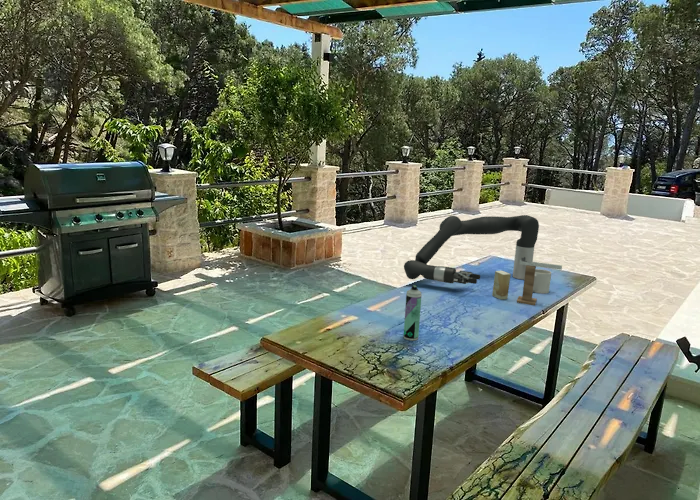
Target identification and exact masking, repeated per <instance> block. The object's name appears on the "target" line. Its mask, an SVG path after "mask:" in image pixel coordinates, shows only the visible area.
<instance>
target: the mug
mask: <svg viewBox="0 0 700 500" xmlns="http://www.w3.org/2000/svg"><path fill="white" fill-rule="evenodd" d="M551 280H552V271H550V270H547V269H541V268H536V270H535V278H534V286H533V293H535V294H549V292H550V285H551Z"/></svg>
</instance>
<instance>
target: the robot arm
mask: <svg viewBox="0 0 700 500" xmlns="http://www.w3.org/2000/svg"><path fill="white" fill-rule="evenodd" d="M539 228H540V223H539V219H537V218H536V217H534V216H530V215H528V214H523V215H522V214H521V215H516V216H480V217H475V218H471V219H467V220H461V219H460V218H459V216H457V215H449V216H447V217H446V218H444V219H443V220H442V221H441V223H440V224H439V230H438V231H437V232H436V233H435V234H434V236H432V237H431V238H430V239H429V240H428V241H427V242H426V243H425V244H424V245H423V247H422V248H420V249H419V251H418V252H417V253H416V255H415V258H414V260H413V259H412V260H411V259H410V260H407V261H405V262H404V265H403V269H404V272H405V276H406V277H407V279H410V280H416V279H417V278H419V277H420V276H422V278H424V280H429V281H437V282H440V283H441V282H442V283H446V284H447V283H448V284H454V283H457V284H464V285H466V284H475V285H476V284H477V283H478V280H481V275H480V274H477V273H473V272H472V271H468V270H467V271H466V270H465V271H464V270H459V271H458V272H457V269H456V268H455V267H452V266H451V267H449V266H443V265H432V264H428V263H429V262H430V261H431V260H432V259H433V258H434V256H435V255H436V254H437V252H438V251H439V250H440V249H441V248H442V247H443V245H444V244H445V243H446V242H447V241H448V240H449V239H450V238H451V237H454V236H461V235H462V236H463V235H497V234H500V233H503V232H514V231H515V232H520V238H519V239H516V243H515V253H514V262H513V270H512V271H513V272H512V278H514V279H518V280H524V278H525V270H526V265H522V264H519V262H520V260H521V259H522V257H525V258H526V260H525V261H531V262H534V252H535V246H536V245H535V244H536V243H537V241H538V236H539Z"/></svg>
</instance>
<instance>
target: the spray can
mask: <svg viewBox="0 0 700 500" xmlns="http://www.w3.org/2000/svg"><path fill="white" fill-rule="evenodd" d="M421 306H422V291H420V290H419V288H418V286H417V284H416V285H415V284H413V285H411V287H410V289H408V290H406V295H405V308H404V324H403V339H404V340H406V341H411V342H412V341H413V342H414V341H418V340H419V335H420V319H421Z"/></svg>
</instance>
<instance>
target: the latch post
mask: <svg viewBox="0 0 700 500" xmlns="http://www.w3.org/2000/svg"><path fill="white" fill-rule="evenodd" d="M536 269H537V266H529V265H526V270H525V278H524V281H523V287H522V288H523V289H522V295H519V296H518V297H517V299H516V304H523V305H529V306H536V304H537V301H538V299H537V298H535V297H533V295H534V294H533V293H534V292H533V286H534V278H535V270H536Z"/></svg>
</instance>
